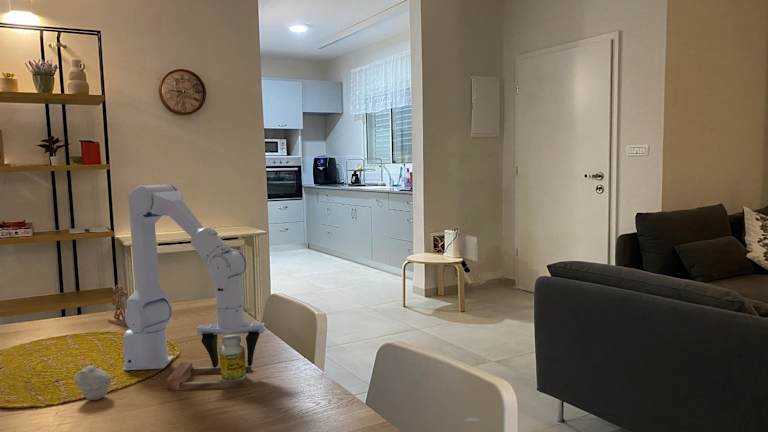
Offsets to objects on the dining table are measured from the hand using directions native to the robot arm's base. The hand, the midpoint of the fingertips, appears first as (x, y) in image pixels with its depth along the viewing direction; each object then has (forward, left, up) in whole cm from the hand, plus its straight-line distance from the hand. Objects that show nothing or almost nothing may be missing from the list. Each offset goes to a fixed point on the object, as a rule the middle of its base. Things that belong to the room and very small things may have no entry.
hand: (233, 365), depth 129 cm
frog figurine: (-27, -8, -3) cm, 28 cm away
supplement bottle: (0, 0, -3) cm, 3 cm away
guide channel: (-5, 0, -3) cm, 6 cm away
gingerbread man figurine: (-45, +52, -3) cm, 69 cm away
